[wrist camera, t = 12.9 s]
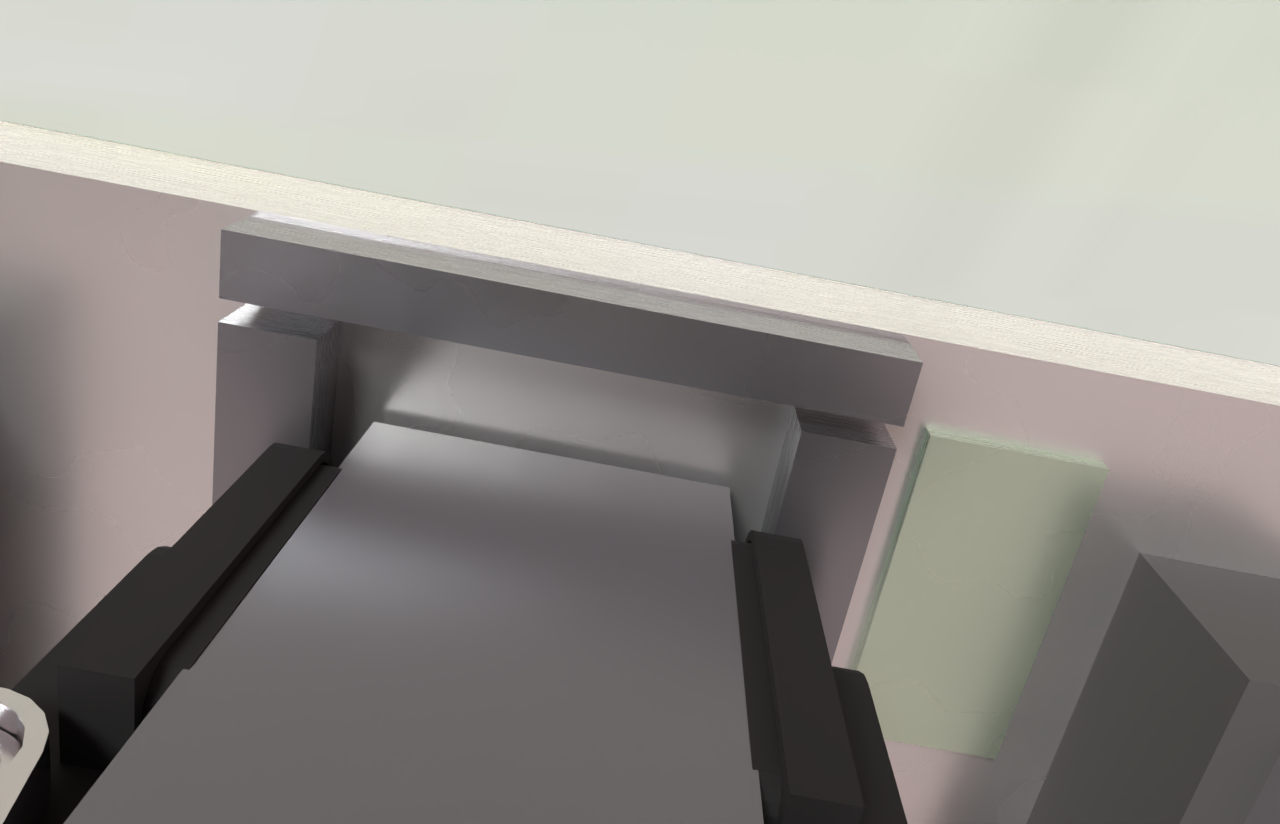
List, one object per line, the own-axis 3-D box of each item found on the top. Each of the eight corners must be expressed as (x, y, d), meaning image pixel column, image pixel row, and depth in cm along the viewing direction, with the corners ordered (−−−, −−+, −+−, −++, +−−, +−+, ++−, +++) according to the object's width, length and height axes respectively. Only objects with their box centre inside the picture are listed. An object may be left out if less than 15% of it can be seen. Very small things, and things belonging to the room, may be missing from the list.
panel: (-160, 997, 18) (-303, 1163, 15) (-299, 63, 12) (-567, 75, 10) (1040, 1195, 19) (1097, 1387, 16) (1449, 399, 13) (1645, 494, 10)
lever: (345, 714, 13) (2, 1419, 6) (374, 421, 11) (-37, 953, 5) (661, 769, 13) (640, 1518, 6) (729, 487, 11) (792, 1090, 5)
